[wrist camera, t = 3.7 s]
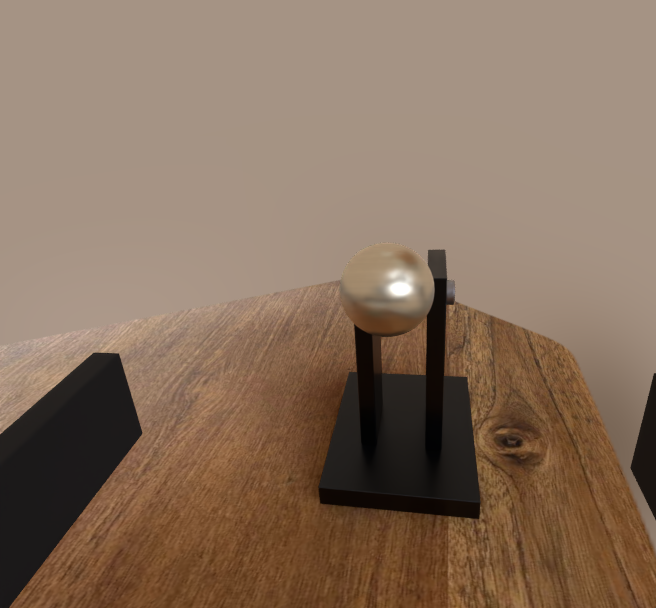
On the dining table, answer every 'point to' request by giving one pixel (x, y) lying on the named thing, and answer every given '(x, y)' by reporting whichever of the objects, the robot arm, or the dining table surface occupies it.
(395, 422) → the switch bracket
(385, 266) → the switch lever
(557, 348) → the dining table surface
